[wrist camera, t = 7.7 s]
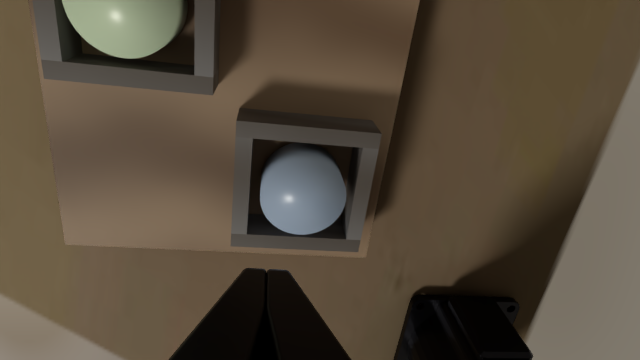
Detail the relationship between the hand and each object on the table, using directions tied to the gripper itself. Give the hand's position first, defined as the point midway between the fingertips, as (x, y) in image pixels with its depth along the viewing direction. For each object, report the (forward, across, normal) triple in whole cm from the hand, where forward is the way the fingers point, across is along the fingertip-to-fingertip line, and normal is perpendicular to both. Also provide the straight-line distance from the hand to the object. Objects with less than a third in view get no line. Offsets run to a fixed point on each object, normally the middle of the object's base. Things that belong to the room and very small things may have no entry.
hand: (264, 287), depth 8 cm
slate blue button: (+9, -1, +2) cm, 9 cm away
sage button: (+9, +5, -4) cm, 11 cm away
